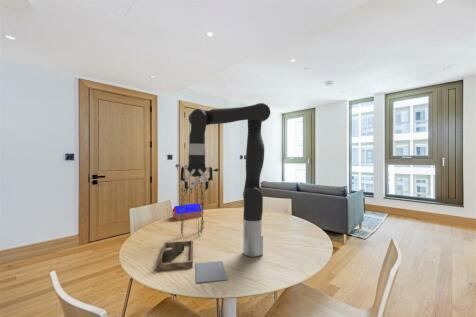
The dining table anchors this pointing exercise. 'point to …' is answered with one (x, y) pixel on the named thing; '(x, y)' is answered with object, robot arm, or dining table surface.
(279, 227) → the dining table surface
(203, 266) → the mat
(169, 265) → the wooden frame
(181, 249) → the hand tool
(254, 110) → the robot arm
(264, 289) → the dining table surface
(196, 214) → the house
